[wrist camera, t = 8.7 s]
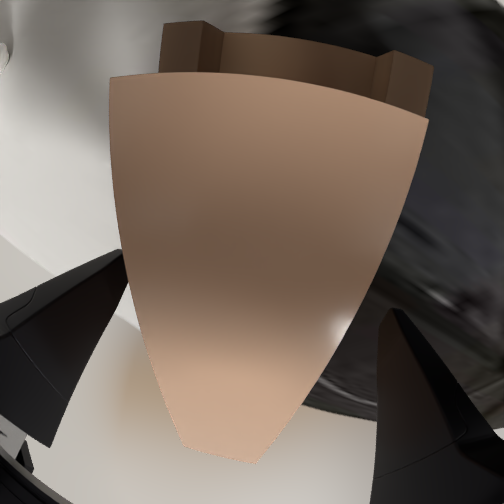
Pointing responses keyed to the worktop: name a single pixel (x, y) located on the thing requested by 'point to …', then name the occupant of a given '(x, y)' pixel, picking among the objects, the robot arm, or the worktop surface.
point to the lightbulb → (3, 56)
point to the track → (297, 63)
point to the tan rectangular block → (250, 237)
